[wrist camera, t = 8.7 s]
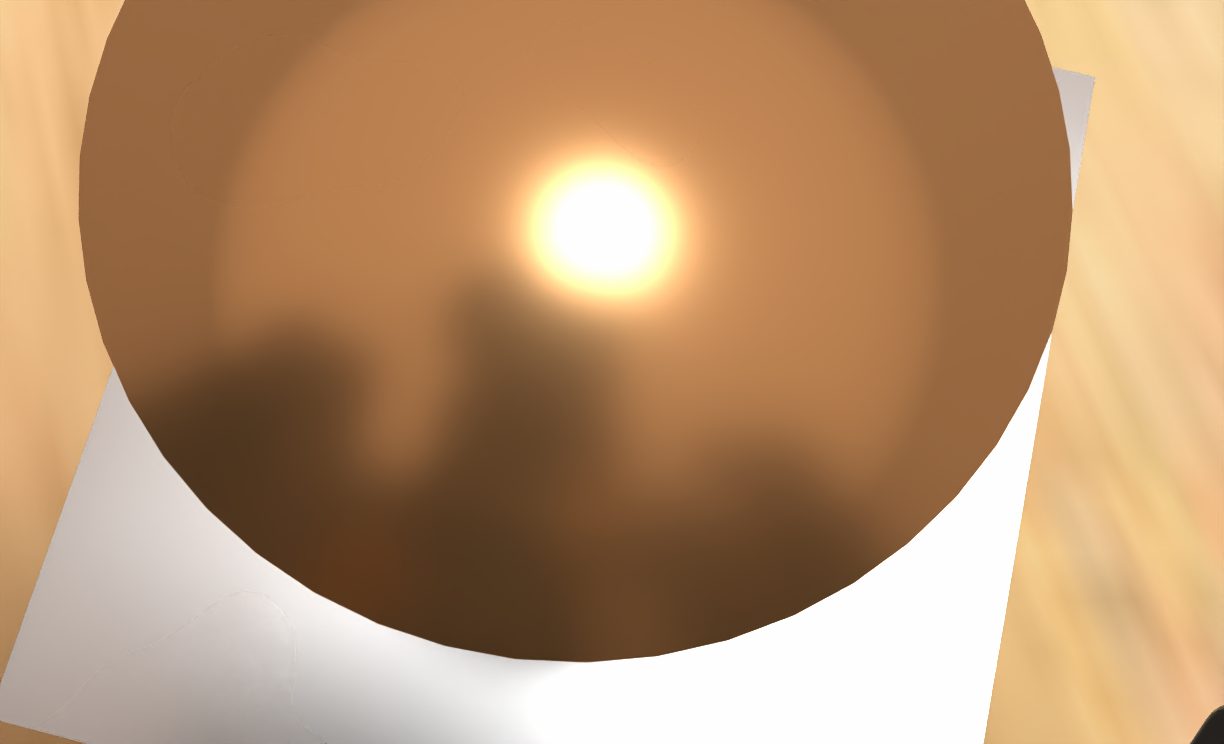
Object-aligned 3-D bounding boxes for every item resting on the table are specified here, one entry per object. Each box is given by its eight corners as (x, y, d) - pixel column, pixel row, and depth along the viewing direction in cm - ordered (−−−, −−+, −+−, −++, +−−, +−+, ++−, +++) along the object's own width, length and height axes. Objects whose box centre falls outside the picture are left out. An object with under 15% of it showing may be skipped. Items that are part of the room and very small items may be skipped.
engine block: (723, 768, 15) (1306, 1295, 3) (349, 672, 15) (-576, 790, 3) (803, 400, 16) (1466, -332, 4) (454, 313, 16) (79, -641, 4)
